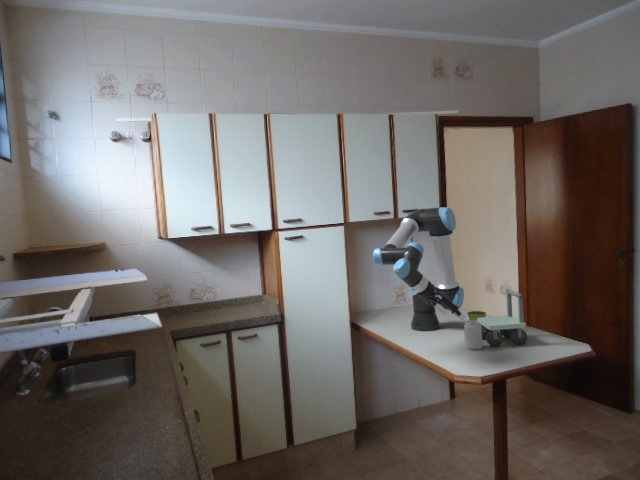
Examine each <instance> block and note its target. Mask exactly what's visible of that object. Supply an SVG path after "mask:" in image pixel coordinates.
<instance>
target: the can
mask: <svg viewBox="0 0 640 480" xmlns="http://www.w3.org/2000/svg"><path fill="white" fill-rule="evenodd" d="M464 322H465V324H463V330H464V347H465V348H466V349H467V348H468V350H470V349H471V350H470V351H477V350H481V349H482V348H483V339H482V328H481V324H480V322H479V321H470V320H467V321H464Z"/></svg>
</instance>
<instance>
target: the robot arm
mask: <svg viewBox="0 0 640 480" xmlns="http://www.w3.org/2000/svg"><path fill="white" fill-rule="evenodd" d="M456 228H457V221H456V216H455V213H454V211H453V209H451V208H450V207H445V206H443V207H441V206H439V207H430V208H419V209H417V210H414V211H412V212H410V213H409V214H408V215H407V216H405V217H404V218H403V219H402V220H401V222H400V225H399V227H398V228H397V230H396V231H395V233H393V235H391V237H390V238H389V240H388V241H387V242H386V244H385V245H384V246H383V247H377V248H375V249H374V250H373V252H372V259H373V262H374V264H375V265H380V266H381V265H382V266H386V265H387V266H391V265H392V266H393V267H392V270H393V273H394V274H395V275H396V276H397V278H399V279H400V280H401V281H403V283H405V284H406V285H407V286H408V287H409V288H411V291H412V292H411V293H412V294H411V295H412V297H411V298H412V307H413V310H412V311H413V314H412V318H411V322H410V328H411V329H413V330H415V331H421V332H422V331H424V332H425V331H427V332H428V331H429V332H430V331H435V330H438V329H440V327H441V325H440V320H439V317H438V315H437V313H436V311H437V312H438V313H439V314H441V315H442V316H443V317H444V316H445V315H446V313H448V311H450V312H451V315H453V316H454V317H456V318H457V319H458V320H459V321H460V322H461V323H462V322H464V321H465V319H466V315H465V314H464V313H462V312H461V311H460V309H461V308H462V306H463V304H464V299H465V298H464V297H465V290H464V288H463V287H461V286H460V283H459V282H458V281H457V280H456V274H455V266H454V264H455V263H454V259H453V258H454V257H453V246H452V240H451V236H452V234H453V233H454V231H455V230H456ZM420 232H428V233H429V237H430V238H432V241H433V250H434V257H435V266H436V273H437V283H436V284H434V283H432V282H431V281H429V280H428V278H427V277H426V276H425V275H424V274H423V273H421V272H420V270H419V267H420V264H421V261H422V259H423V257H424V249H425V248H424V247H423V245H422V244H421V243H418V242H414V241H413V242H412V241H411V242H410V239H411V238H412V237H413V236H415V235H417V234H418V233H420ZM408 242H410V243H408ZM406 245H407V246H406ZM405 246H406V247H405Z"/></svg>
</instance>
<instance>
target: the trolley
mask: <svg viewBox="0 0 640 480" xmlns="http://www.w3.org/2000/svg"><path fill="white" fill-rule="evenodd" d="M505 293H506V308H507V315H498V316H497V315H496V316H495V315H493V316H485V317H481V318H477V321H479V322H480V324H481V328H482V340H486V342H487V343H486V344H488V345H489V346H491V347H493V348H498V347H499V346H501V345H502V344H503V341H504V338H506V339H507V338H508V339H510V341H511V342H512V344H513V343H514V344H515V345H517V346H522V345H524V344H525V343H526V342H527V341H528V333H527V331H526V330H523V329H524V328H525V329H526V325H527V323H526V322H525V318H524V316H525V314H524V298H523V297H524V295H523V294H522V293H520V292H518V291H515V290H513V289H509V288H507V289H506V290H505ZM512 296H514V297H516V298H517V310H518V315H517V316H518V318H517V317H515V316H513V301H512ZM498 330H499V331H498Z"/></svg>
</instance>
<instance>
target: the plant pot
mask: <svg viewBox="0 0 640 480" xmlns="http://www.w3.org/2000/svg"><path fill="white" fill-rule="evenodd" d="M466 315H467V316H468V319H469V320H468V321H477V318H481V317H487V316H486V315H487V312H486V311H481V310H471V311H468V312H466Z"/></svg>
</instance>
